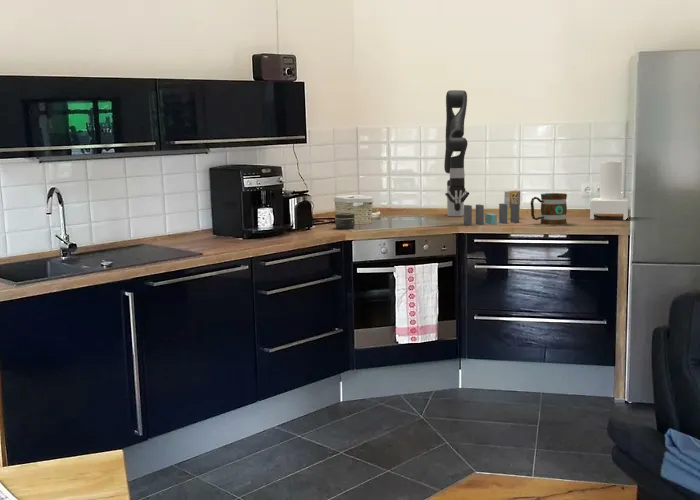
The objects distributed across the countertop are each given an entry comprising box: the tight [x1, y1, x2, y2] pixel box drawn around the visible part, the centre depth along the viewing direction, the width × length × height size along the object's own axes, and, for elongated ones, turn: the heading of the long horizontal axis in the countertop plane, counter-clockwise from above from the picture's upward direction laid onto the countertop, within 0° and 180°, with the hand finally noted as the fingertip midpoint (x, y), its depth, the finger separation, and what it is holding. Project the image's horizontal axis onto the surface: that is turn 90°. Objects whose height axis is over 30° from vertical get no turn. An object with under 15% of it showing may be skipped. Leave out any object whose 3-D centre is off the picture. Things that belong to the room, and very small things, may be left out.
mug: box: [530, 192, 568, 226], centre depth 409 cm, size 20×14×15 cm
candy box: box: [503, 189, 521, 221], centre depth 435 cm, size 9×4×15 cm, turn 129°
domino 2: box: [475, 203, 485, 226], centre depth 414 cm, size 2×5×10 cm, turn 12°
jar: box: [334, 213, 356, 231], centre depth 408 cm, size 10×10×8 cm
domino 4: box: [510, 203, 520, 224], centre depth 418 cm, size 2×5×10 cm, turn 12°
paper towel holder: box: [589, 160, 629, 221], centre depth 429 cm, size 19×19×30 cm
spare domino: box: [484, 212, 498, 226], centre depth 416 cm, size 2×5×10 cm
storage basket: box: [333, 194, 374, 225], centre depth 435 cm, size 24×16×15 cm
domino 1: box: [463, 204, 473, 226], centre depth 413 cm, size 2×5×10 cm, turn 12°
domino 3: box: [498, 203, 508, 225], centre depth 417 cm, size 2×5×10 cm, turn 12°
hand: (457, 210), depth 411 cm, fingers closed
